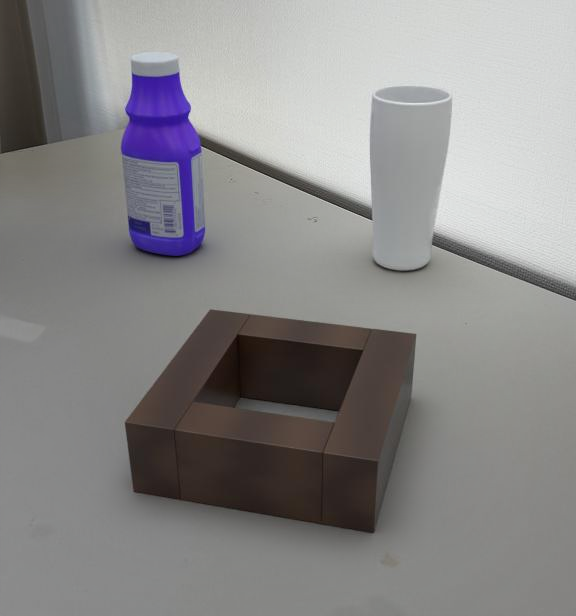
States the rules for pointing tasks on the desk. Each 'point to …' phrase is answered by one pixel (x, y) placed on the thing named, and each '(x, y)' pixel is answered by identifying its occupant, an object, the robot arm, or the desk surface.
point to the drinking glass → (407, 171)
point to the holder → (276, 418)
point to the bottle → (162, 160)
